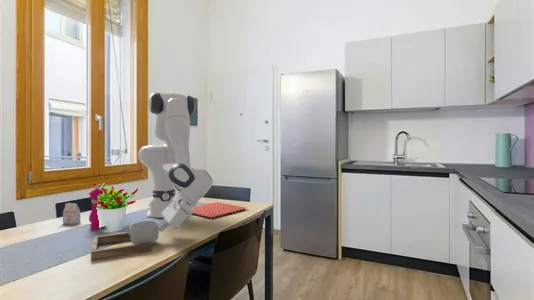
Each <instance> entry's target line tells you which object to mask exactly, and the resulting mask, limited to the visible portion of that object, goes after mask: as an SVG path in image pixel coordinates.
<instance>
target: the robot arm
mask: <svg viewBox="0 0 534 300" xmlns="http://www.w3.org/2000/svg"><path fill="white" fill-rule="evenodd" d="M147 105H148V109H149V112H150V113H152V114H154V115H156V117H155V126H154V134H155V137H156V138H157V139H159V140H160V141H162V142H164V144H150V145H145V146H141V148H140V149H139V151H138V154H137V155H138V156H137V157H138V160H139V162H140V163H141V165H143V166H145V167H146V168H147V169H148V170H149V171H150V174H151V177H152V184H153V187H152V188H153V189H152V199H150V201H149V202H148V211H147V213H146V215H145V216H146V218H156V219H159V218H163V219H162V220H161V222H160V224H158V228H159V232H163V231H164V230H166V229H167V228H168V227H169V226H171V227H172V228H173V229H176V228H178V227H180V226H181V224H183V223H184V222H185V220H187V218H188V217H189V216H191V215H193V212H194V207H195V206H197V205H198V203H199V201H200V200H201V199H202V198H203V197H204V196H205V195H206V194H207V193H208V191H210V189H211V188H212V186H213V178H212V177H211V176H210V173H208V172H207V171H206V170H205V169H198V168H194V167H191V159H190V158H191V157H190V149H189V148H190V135H191V119H190V116H191V115H193V114H194V111H195V109H196V103H195V99H194V98H193V96H191V95H188V94H180V93H169V92H161V93H160V92H153V93H151V94H150V95H149V98H148V101H147ZM164 165H173V166H172V167H170V169H169V170H166V169H165V168H164ZM176 190H177V191H178V193H177V194H176Z"/></svg>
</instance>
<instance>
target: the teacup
mask: <svg viewBox="0 0 534 300" xmlns="http://www.w3.org/2000/svg"><path fill="white" fill-rule="evenodd" d="M159 225H160V224H159V222H158V221H157V220H142V221H138V222H134V223H129V224H127V225H126V227H125V231H126V232H127V233H128V234H129V235H130V238H131V240H130V241H131V242H130V243H132V245H133V244H139V243H146V242H151V246H152V245H153V244H155V243H156V241H157V240H158V239H159V235H160V233H159V232H160V231H159V228H158V226H159Z"/></svg>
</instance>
